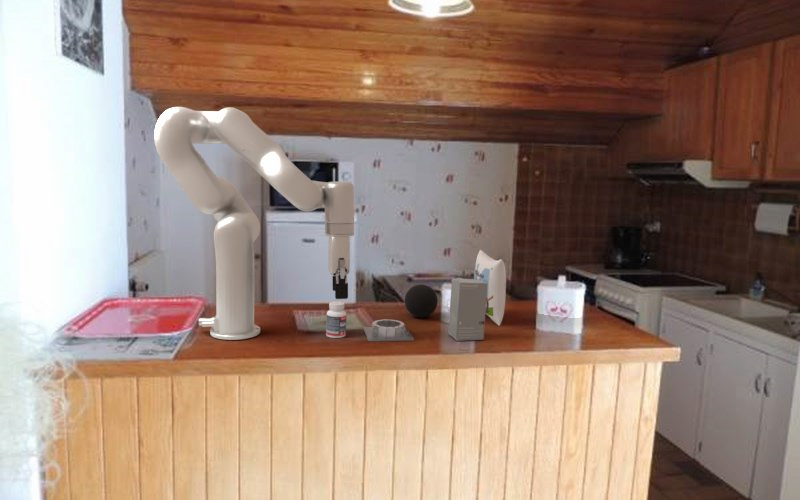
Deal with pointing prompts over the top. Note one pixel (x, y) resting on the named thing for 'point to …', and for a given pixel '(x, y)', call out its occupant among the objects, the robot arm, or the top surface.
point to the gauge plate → (388, 331)
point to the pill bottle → (336, 320)
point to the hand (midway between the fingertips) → (340, 294)
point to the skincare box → (467, 309)
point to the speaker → (421, 301)
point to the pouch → (492, 284)
